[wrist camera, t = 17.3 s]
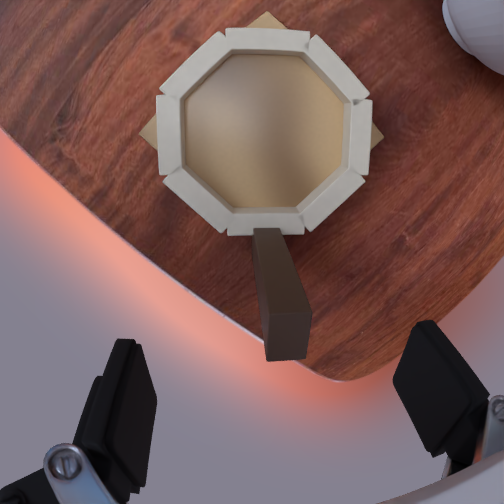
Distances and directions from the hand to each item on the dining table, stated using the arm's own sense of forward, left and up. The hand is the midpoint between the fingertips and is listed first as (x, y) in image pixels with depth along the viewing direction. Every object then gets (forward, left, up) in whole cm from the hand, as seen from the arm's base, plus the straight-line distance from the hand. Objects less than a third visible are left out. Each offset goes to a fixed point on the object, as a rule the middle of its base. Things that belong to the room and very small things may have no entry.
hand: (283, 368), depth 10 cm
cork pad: (0, +7, -12) cm, 14 cm away
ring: (0, +7, -12) cm, 13 cm away
